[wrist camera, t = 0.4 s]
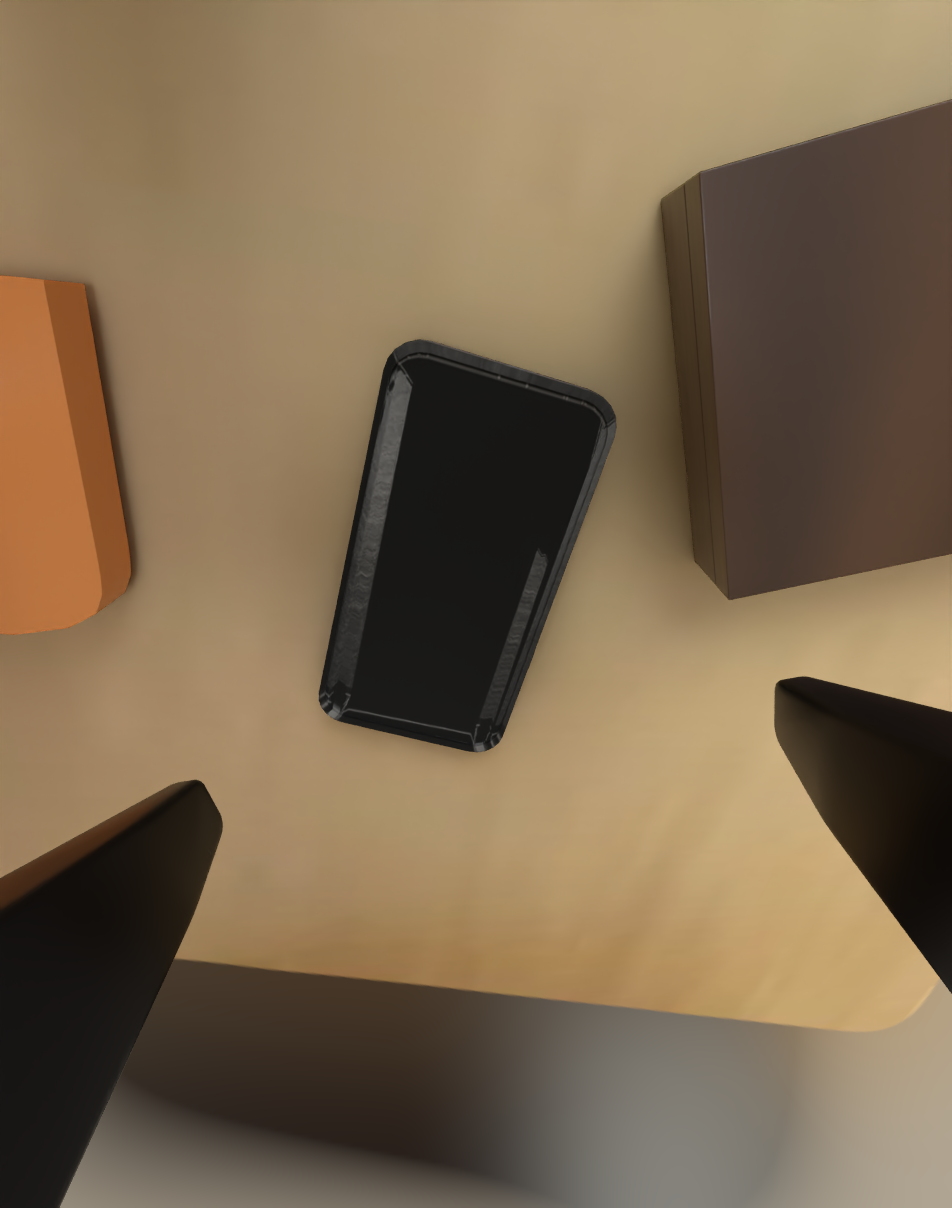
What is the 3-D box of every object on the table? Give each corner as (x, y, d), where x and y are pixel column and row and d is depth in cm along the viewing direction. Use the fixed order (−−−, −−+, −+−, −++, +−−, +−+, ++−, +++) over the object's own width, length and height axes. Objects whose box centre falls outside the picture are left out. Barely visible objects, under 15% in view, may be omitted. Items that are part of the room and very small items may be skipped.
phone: (314, 715, 24) (391, 330, 18) (321, 699, 25) (396, 330, 19) (497, 758, 25) (631, 403, 19) (496, 741, 26) (623, 399, 20)
